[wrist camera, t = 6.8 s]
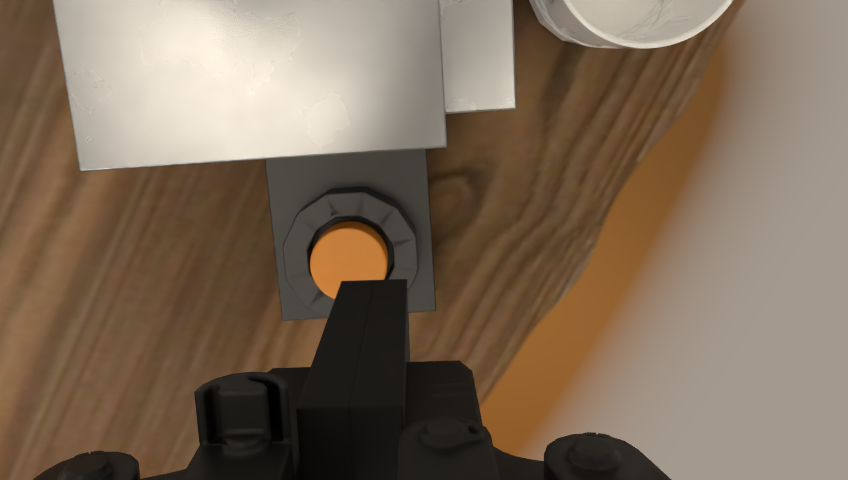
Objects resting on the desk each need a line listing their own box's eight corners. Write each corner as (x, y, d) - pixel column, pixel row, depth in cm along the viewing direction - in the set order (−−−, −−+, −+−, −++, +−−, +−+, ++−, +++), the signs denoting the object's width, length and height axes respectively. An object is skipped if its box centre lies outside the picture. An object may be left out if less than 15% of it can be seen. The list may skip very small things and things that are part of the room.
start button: (311, 223, 35) (306, 230, 34) (385, 218, 35) (384, 225, 34) (318, 294, 36) (313, 305, 35) (390, 289, 36) (389, 300, 35)
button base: (273, 123, 39) (253, 128, 34) (423, 113, 39) (424, 117, 34) (291, 303, 41) (276, 332, 36) (434, 293, 41) (437, 322, 36)
